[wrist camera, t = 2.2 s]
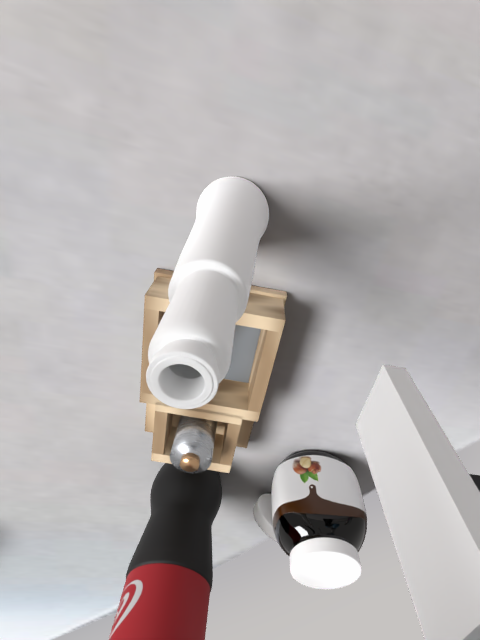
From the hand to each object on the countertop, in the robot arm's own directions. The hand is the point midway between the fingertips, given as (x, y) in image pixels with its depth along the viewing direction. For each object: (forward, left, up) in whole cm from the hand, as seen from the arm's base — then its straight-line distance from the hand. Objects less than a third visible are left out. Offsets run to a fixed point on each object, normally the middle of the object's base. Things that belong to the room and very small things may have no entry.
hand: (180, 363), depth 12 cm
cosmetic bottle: (0, 0, -21) cm, 21 cm away
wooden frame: (0, +16, -21) cm, 26 cm away
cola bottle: (0, +33, -21) cm, 39 cm away
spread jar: (-14, +31, -21) cm, 40 cm away
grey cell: (0, +21, -20) cm, 29 cm away
